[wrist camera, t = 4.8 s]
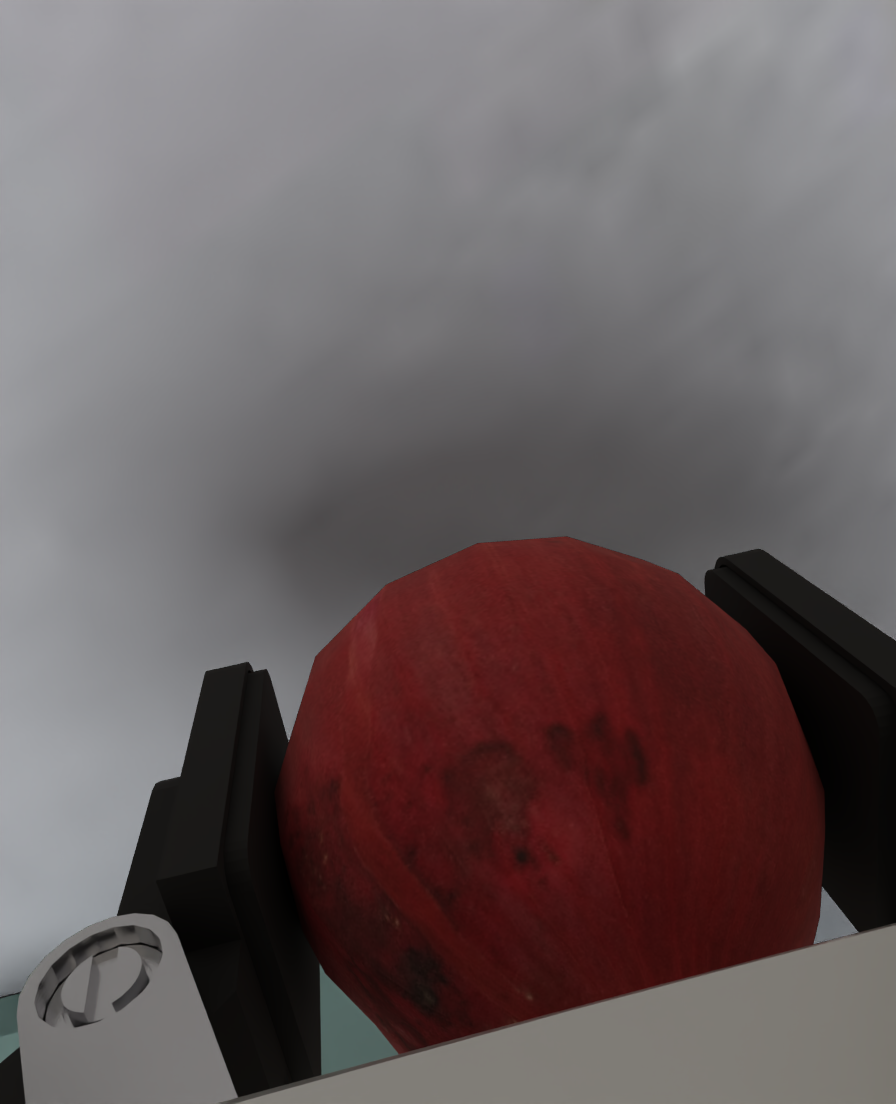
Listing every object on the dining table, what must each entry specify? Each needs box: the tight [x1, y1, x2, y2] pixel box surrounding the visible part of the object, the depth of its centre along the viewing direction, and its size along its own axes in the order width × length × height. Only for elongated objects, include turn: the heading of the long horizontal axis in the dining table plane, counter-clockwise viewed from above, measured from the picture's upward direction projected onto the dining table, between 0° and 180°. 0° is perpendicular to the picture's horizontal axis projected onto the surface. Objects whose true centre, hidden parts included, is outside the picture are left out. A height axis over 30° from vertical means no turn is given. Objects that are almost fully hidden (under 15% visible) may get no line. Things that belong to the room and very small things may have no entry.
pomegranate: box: [274, 536, 825, 1054], centre depth 9 cm, size 6×6×8 cm
